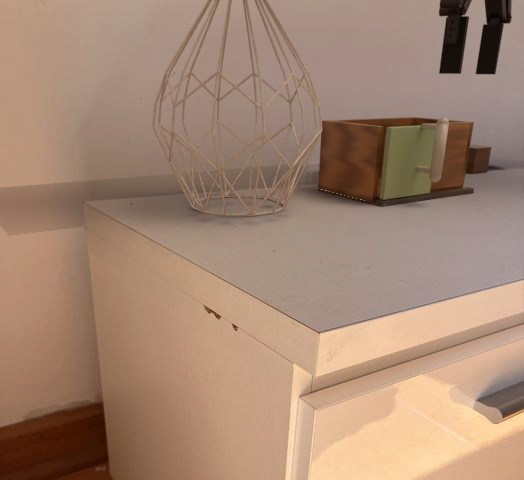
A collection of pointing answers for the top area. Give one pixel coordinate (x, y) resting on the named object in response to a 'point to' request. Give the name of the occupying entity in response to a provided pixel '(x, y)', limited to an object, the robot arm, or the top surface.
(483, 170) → the block
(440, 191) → the box
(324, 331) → the top surface
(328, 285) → the top surface
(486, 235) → the top surface
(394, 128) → the sliding door
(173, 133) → the table lamp
